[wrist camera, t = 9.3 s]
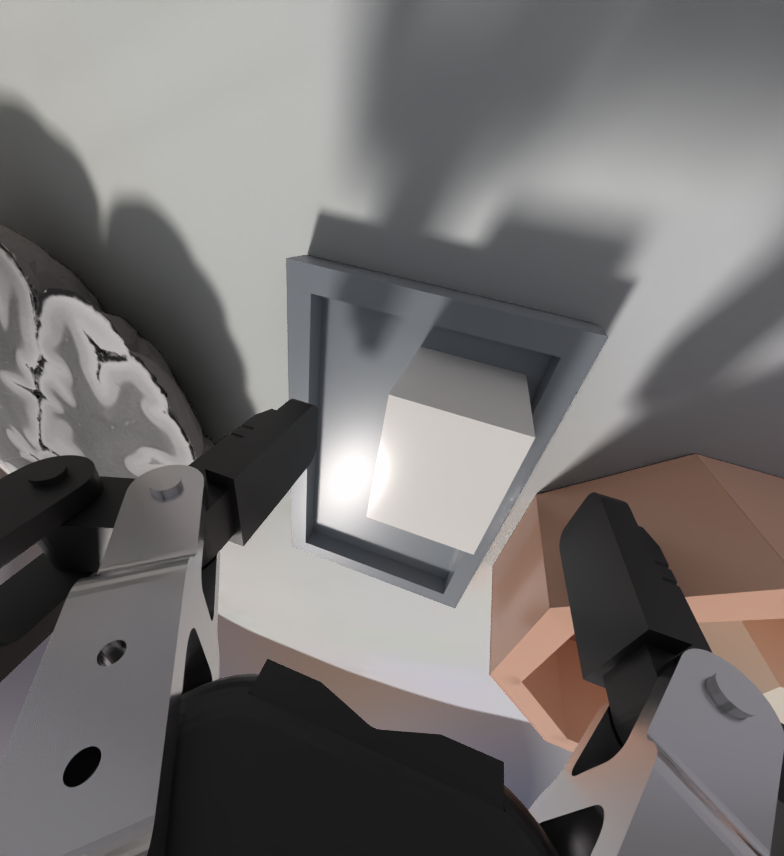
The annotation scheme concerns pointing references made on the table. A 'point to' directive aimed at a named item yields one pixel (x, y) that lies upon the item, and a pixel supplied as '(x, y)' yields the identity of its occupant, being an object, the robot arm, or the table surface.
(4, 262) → the brain slice
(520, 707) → the bowl
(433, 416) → the stone
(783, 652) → the stone
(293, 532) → the tray
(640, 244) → the table surface
